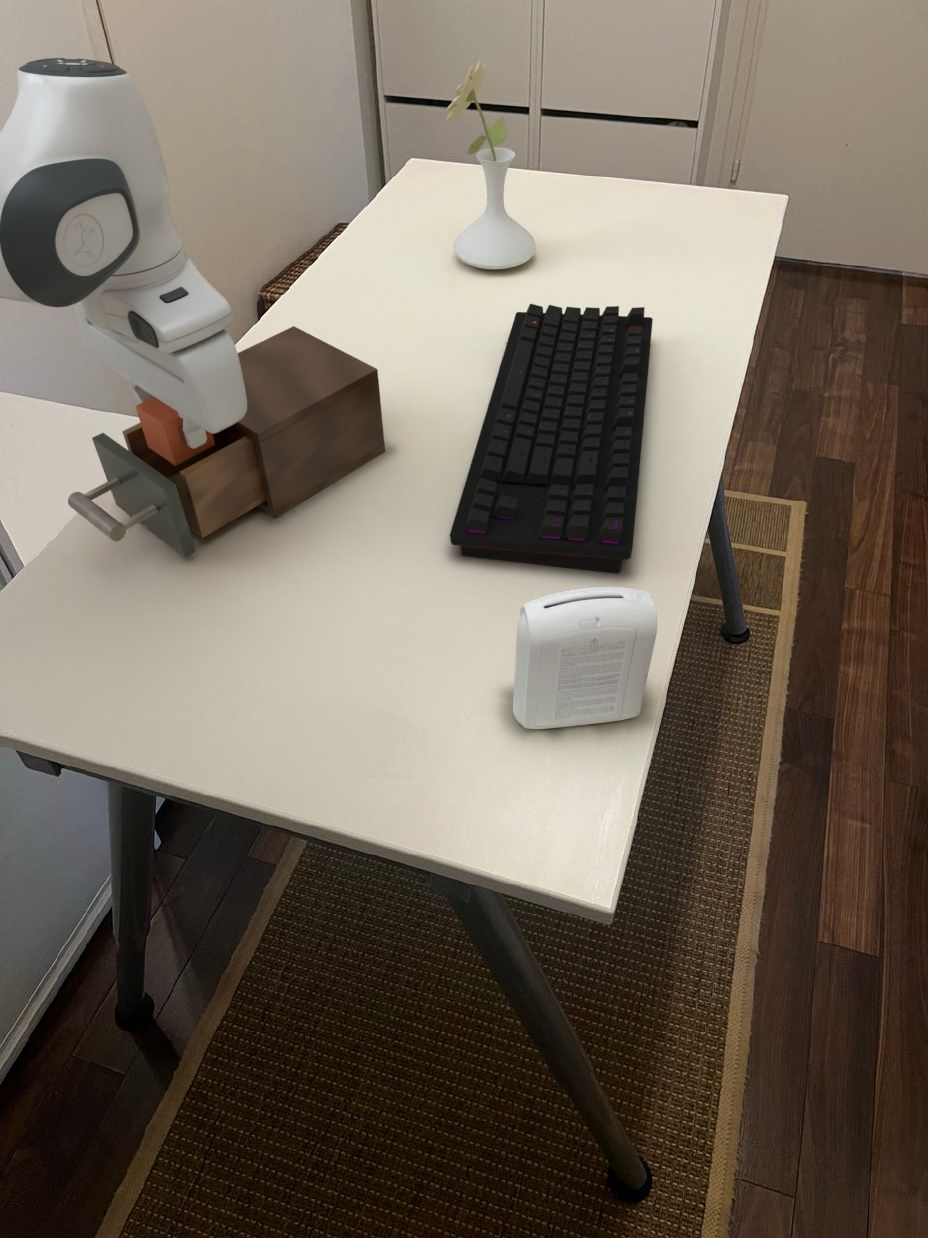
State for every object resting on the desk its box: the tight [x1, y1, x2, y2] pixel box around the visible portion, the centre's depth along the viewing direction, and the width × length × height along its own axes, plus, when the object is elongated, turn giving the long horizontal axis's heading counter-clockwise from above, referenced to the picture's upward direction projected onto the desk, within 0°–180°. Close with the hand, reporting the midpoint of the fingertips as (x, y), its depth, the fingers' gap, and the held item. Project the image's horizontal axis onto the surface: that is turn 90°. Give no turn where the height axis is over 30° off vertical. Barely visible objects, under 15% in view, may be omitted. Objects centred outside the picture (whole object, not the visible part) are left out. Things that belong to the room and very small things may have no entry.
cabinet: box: [233, 325, 386, 519], centre depth 93 cm, size 15×13×10 cm
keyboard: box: [449, 303, 654, 574], centre depth 97 cm, size 42×16×5 cm, turn 169°
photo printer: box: [512, 586, 658, 730], centre depth 69 cm, size 10×4×12 cm, turn 98°
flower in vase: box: [446, 59, 537, 270], centre depth 119 cm, size 13×11×25 cm
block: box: [135, 397, 215, 466], centre depth 84 cm, size 4×4×4 cm
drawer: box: [67, 422, 267, 559], centre depth 87 cm, size 19×12×8 cm, turn 137°
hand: (176, 430), depth 84 cm, fingers closed on block, 4 cm apart
